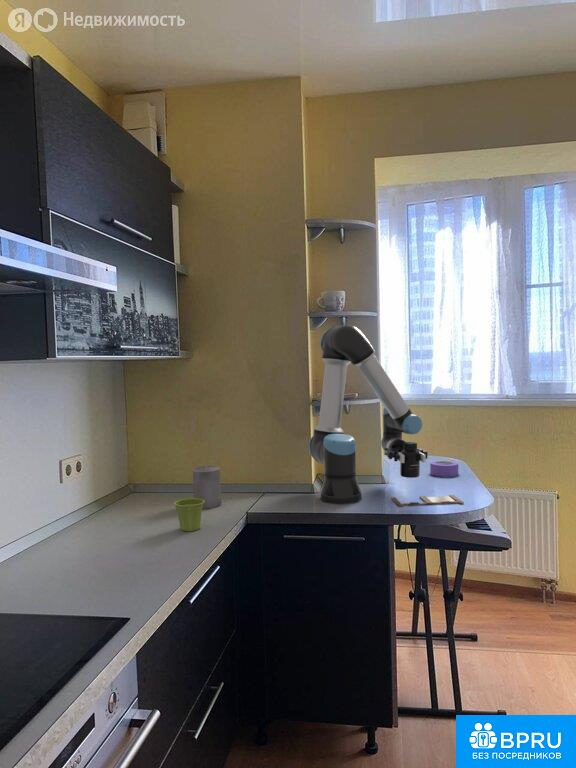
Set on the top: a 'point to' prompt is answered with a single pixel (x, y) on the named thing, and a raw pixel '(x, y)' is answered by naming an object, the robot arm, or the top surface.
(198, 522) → the plant pot
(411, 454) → the supplement bottle
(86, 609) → the top surface
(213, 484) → the pillar candle
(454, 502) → the flat wooden frame
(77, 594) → the top surface
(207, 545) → the top surface
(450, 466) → the tape roll
